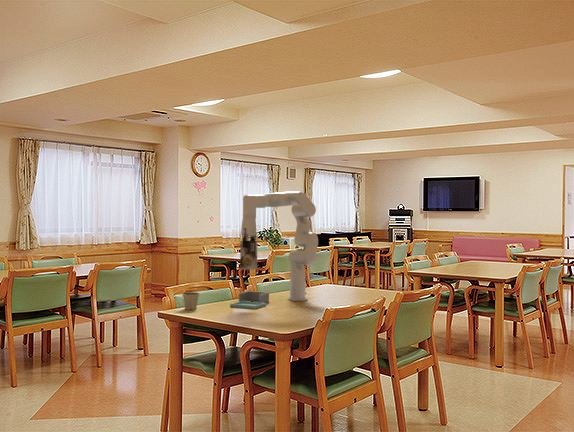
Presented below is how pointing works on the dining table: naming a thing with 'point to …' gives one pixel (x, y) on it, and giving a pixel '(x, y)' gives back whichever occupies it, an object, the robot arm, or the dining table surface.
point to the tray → (248, 304)
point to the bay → (254, 296)
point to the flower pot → (190, 300)
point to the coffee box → (248, 256)
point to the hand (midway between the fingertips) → (249, 247)
